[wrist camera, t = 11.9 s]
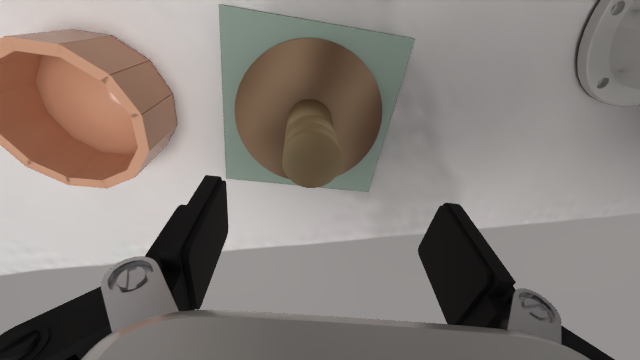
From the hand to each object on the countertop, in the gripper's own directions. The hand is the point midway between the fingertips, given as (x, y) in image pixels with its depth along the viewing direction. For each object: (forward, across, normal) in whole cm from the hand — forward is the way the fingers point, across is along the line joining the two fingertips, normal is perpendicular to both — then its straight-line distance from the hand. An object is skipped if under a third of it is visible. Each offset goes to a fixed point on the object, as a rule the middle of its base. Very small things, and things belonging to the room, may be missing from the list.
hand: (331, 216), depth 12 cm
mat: (+14, +1, 0) cm, 14 cm away
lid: (+13, +1, 0) cm, 13 cm away
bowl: (+13, +17, +2) cm, 22 cm away
